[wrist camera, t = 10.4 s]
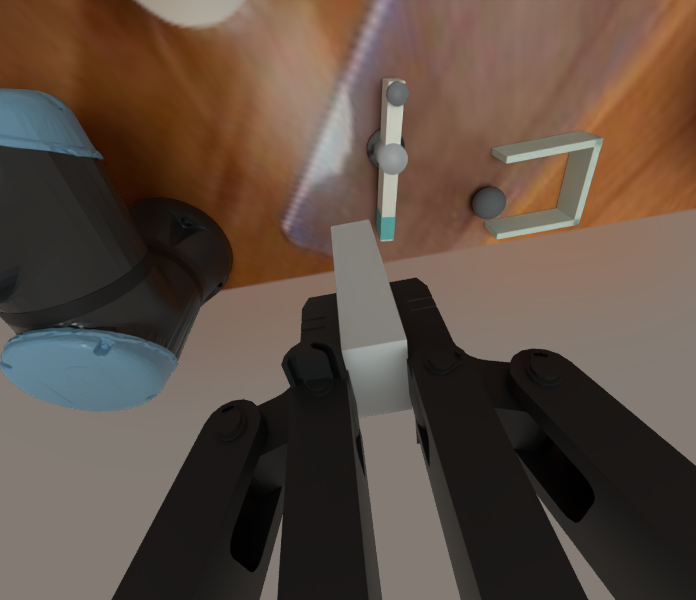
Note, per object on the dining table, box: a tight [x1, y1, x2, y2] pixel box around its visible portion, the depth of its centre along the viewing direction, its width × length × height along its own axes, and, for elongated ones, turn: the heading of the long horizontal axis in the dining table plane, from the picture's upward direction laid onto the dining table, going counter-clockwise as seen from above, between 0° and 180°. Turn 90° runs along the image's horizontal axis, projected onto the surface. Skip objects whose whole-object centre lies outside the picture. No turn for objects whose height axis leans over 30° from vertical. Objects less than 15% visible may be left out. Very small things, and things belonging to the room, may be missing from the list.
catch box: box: [484, 131, 603, 239], centre depth 42 cm, size 11×11×4 cm
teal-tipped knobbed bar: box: [374, 78, 409, 241], centre depth 38 cm, size 3×17×5 cm, turn 1°
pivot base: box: [367, 129, 404, 167], centre depth 39 cm, size 4×4×1 cm
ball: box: [472, 187, 506, 219], centre depth 43 cm, size 4×4×4 cm
